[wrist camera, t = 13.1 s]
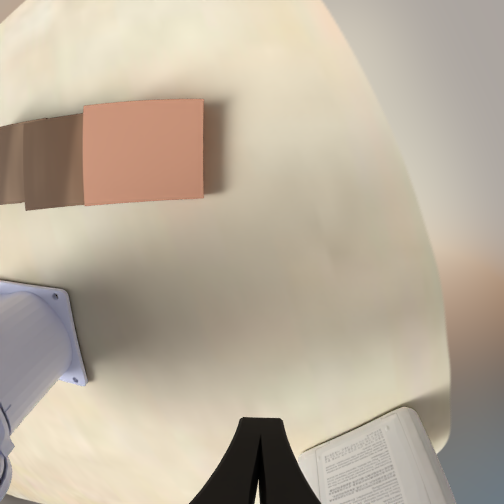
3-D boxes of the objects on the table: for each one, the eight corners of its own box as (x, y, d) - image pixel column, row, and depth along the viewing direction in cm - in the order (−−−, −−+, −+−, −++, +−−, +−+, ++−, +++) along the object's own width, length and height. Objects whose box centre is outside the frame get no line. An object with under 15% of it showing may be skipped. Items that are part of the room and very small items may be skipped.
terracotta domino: (200, 195, 17) (91, 202, 16) (199, 104, 16) (90, 110, 14) (203, 198, 16) (84, 206, 14) (203, 98, 14) (83, 105, 13)
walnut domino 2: (126, 198, 17) (35, 207, 16) (125, 113, 16) (33, 126, 15) (122, 201, 16) (25, 210, 15) (120, 109, 15) (23, 123, 13)
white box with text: (312, 475, 23) (321, 595, 11) (288, 453, 22) (290, 589, 10) (422, 423, 21) (473, 541, 9) (408, 395, 20) (469, 529, 8)
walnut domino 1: (54, 197, 18) (-14, 204, 16) (54, 120, 16) (-15, 134, 15) (45, 199, 16) (-25, 207, 15) (45, 118, 15) (-26, 133, 14)
